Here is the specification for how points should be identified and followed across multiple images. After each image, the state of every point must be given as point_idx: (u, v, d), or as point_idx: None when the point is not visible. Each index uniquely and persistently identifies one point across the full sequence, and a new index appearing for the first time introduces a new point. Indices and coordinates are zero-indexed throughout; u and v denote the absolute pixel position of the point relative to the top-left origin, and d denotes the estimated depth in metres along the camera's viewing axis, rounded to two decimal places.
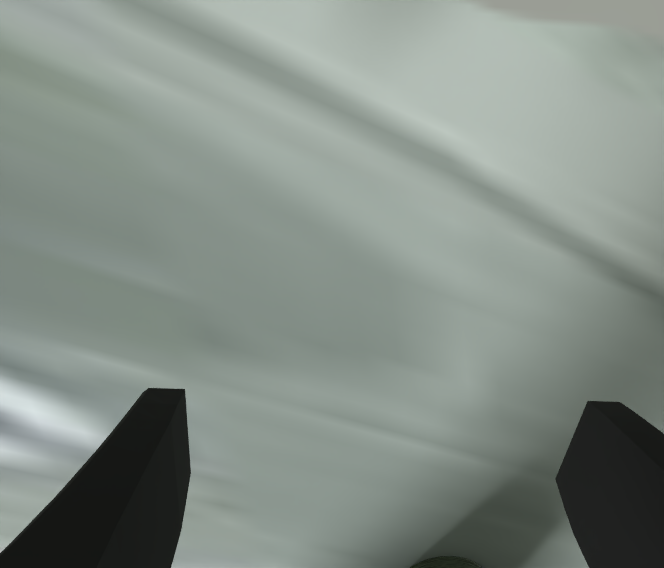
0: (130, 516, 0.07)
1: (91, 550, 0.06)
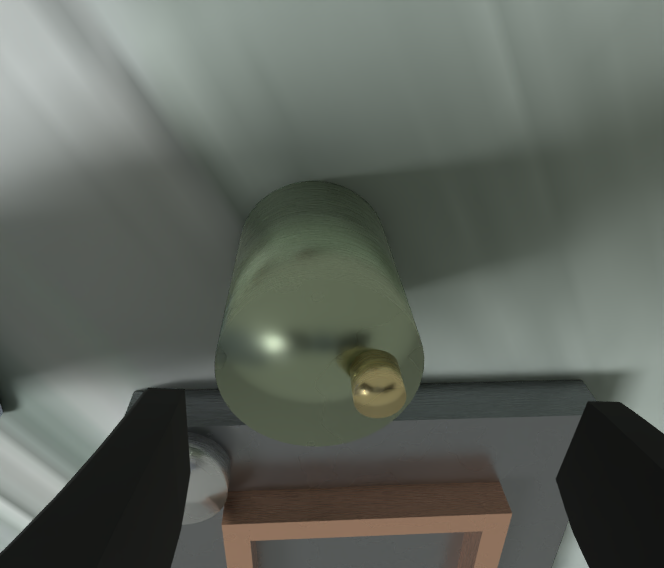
0: (130, 516, 0.07)
1: (91, 550, 0.06)
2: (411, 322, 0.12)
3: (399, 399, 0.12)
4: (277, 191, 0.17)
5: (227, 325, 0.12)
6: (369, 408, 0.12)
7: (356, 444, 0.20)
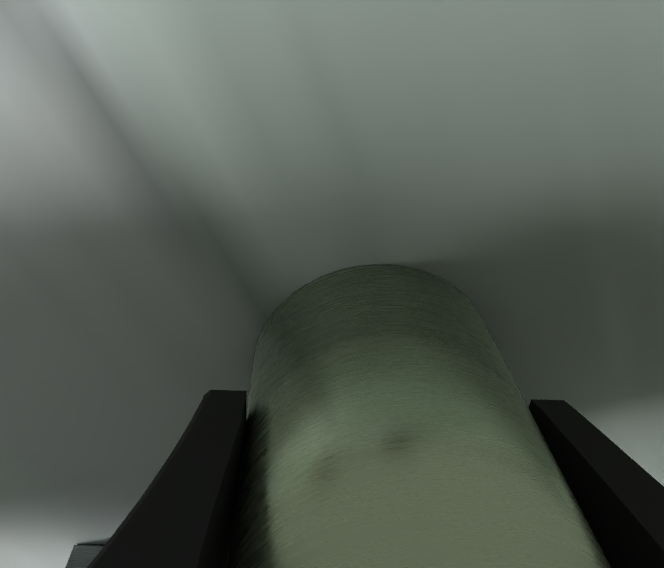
0: (215, 517, 0.07)
1: (187, 551, 0.06)
2: None
3: None
4: (326, 279, 0.10)
5: None
6: None
7: None
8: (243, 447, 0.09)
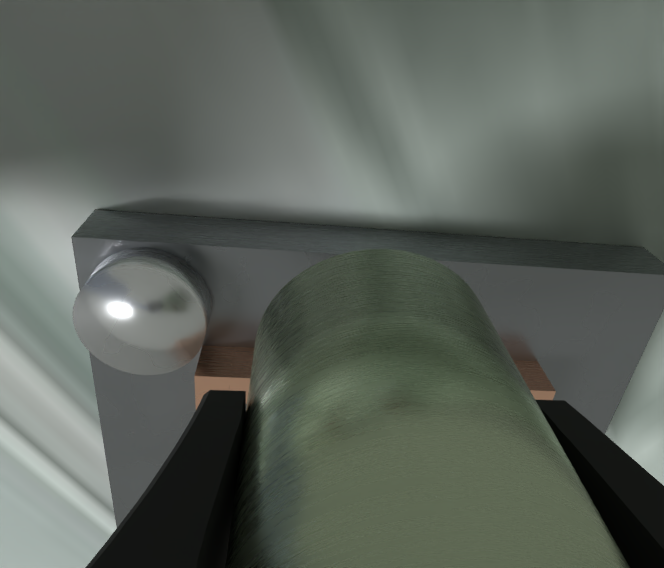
0: (214, 517, 0.07)
1: (186, 551, 0.06)
2: None
3: None
4: (325, 263, 0.10)
5: None
6: None
7: None
8: (244, 426, 0.09)
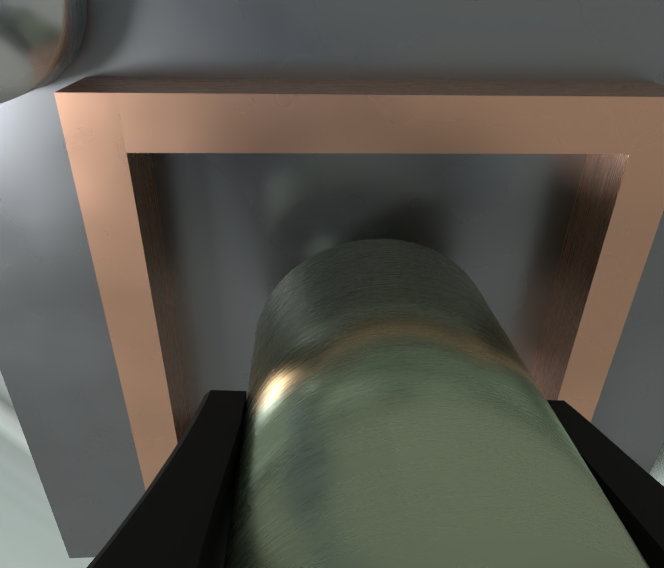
0: (215, 517, 0.07)
1: (187, 551, 0.06)
2: None
3: None
4: (325, 254, 0.10)
5: None
6: None
7: None
8: (244, 415, 0.09)
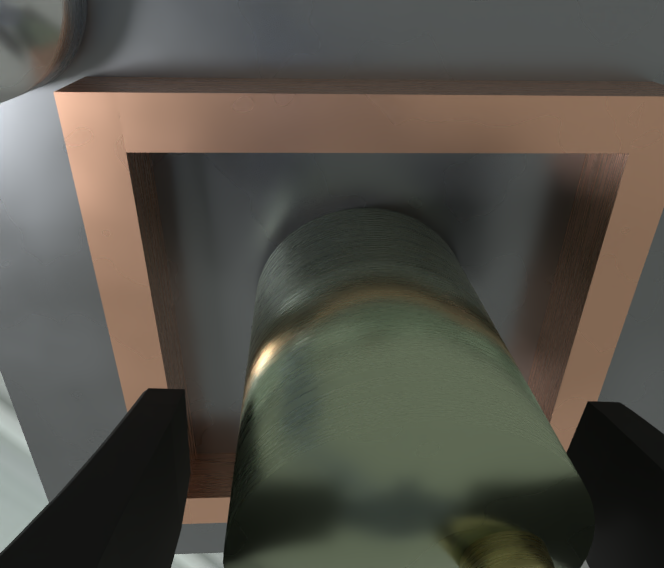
0: (130, 516, 0.07)
1: (91, 550, 0.06)
2: (585, 490, 0.07)
3: None
4: (318, 221, 0.12)
5: (252, 489, 0.07)
6: None
7: None
8: (248, 357, 0.10)
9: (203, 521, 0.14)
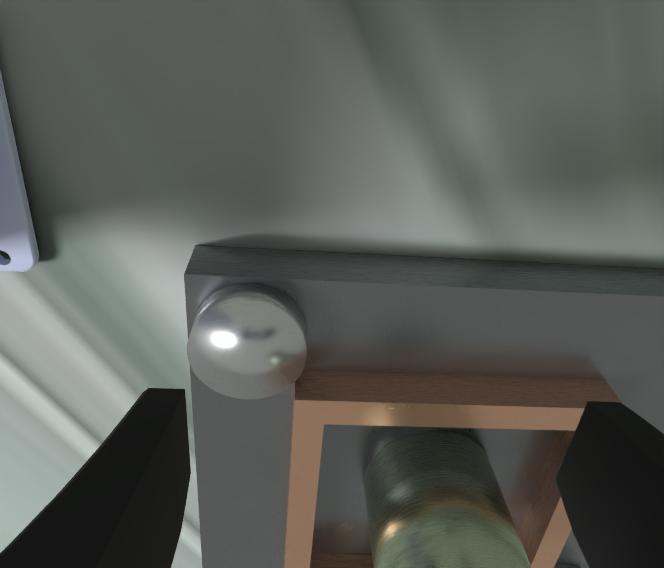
0: (130, 516, 0.07)
1: (91, 550, 0.06)
2: None
3: None
4: (412, 437, 0.20)
5: None
6: None
7: (454, 318, 0.18)
8: (375, 525, 0.18)
9: None
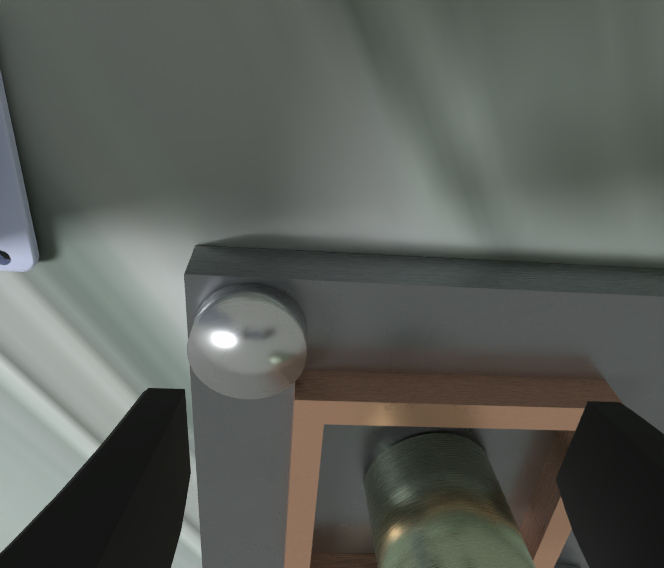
0: (130, 516, 0.07)
1: (91, 550, 0.06)
2: None
3: None
4: (416, 439, 0.20)
5: None
6: None
7: (454, 318, 0.18)
8: (380, 529, 0.18)
9: None
